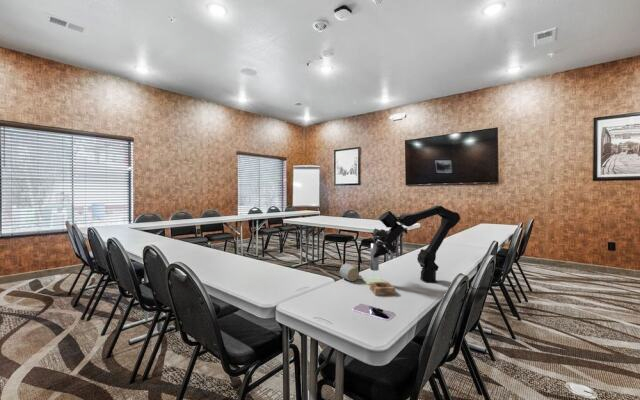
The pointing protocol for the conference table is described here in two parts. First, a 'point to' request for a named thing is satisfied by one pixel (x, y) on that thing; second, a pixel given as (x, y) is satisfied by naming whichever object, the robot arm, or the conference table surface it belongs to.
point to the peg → (373, 260)
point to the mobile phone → (374, 312)
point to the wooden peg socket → (382, 288)
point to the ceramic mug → (349, 272)
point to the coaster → (372, 280)
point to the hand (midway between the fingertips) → (372, 256)
